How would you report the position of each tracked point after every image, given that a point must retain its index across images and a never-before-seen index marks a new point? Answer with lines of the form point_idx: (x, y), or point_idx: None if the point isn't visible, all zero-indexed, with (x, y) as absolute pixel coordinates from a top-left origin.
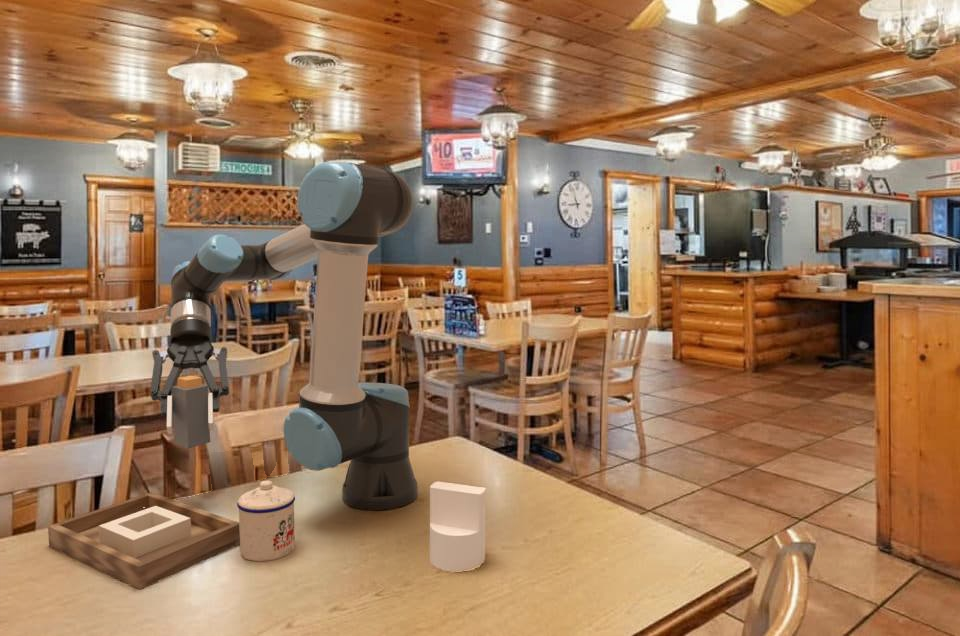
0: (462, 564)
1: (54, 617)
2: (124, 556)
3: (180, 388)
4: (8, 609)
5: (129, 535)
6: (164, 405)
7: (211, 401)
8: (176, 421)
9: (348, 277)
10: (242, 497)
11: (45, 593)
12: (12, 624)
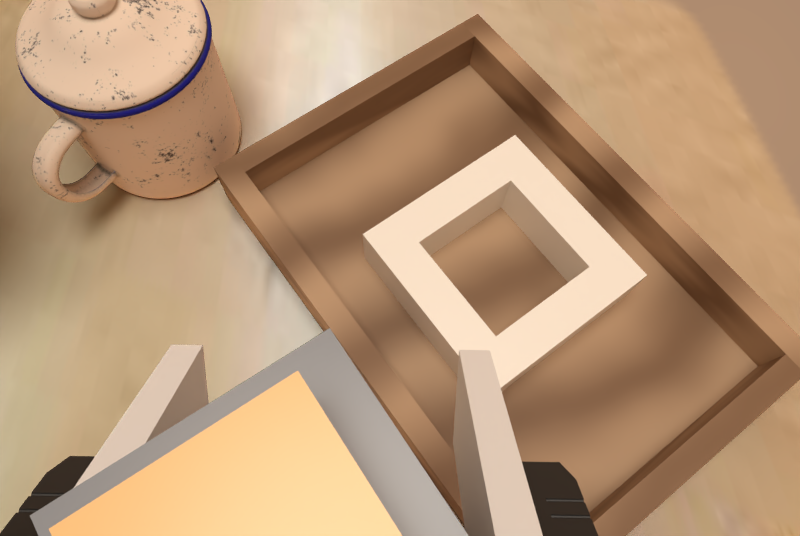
0: None
1: (615, 11)
2: (521, 72)
3: (396, 453)
4: (720, 66)
5: (532, 168)
6: (554, 519)
7: (95, 467)
8: None
9: None
10: (185, 33)
11: (671, 105)
12: (685, 13)
